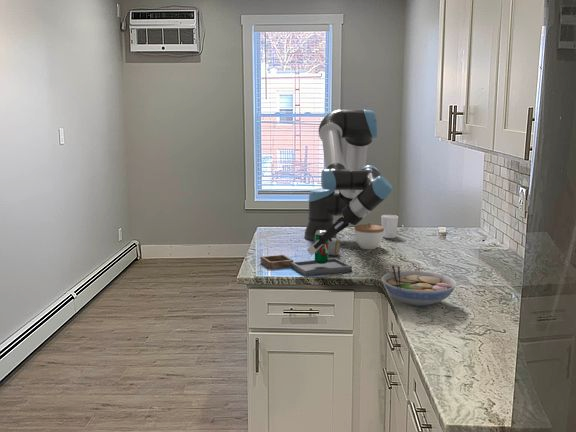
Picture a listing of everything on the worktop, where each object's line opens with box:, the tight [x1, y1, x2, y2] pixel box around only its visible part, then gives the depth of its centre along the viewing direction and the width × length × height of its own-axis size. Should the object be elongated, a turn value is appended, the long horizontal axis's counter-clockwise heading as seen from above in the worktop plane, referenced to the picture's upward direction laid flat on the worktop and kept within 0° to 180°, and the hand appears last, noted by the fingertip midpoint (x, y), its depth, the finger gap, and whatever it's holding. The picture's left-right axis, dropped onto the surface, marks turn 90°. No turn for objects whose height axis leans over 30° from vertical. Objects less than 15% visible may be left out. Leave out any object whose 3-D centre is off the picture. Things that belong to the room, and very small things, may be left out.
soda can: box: [314, 230, 329, 264], centre depth 218 cm, size 5×5×12 cm
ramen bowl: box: [381, 265, 458, 307], centre depth 182 cm, size 25×23×8 cm
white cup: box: [380, 214, 399, 239], centre depth 279 cm, size 8×8×10 cm
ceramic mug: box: [328, 238, 341, 257], centre depth 243 cm, size 11×8×8 cm
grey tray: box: [290, 257, 353, 277], centre depth 220 cm, size 19×13×2 cm
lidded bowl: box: [354, 222, 384, 250], centre depth 256 cm, size 13×13×11 cm
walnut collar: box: [260, 254, 294, 270], centre depth 225 cm, size 10×10×2 cm
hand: (312, 250), depth 220 cm, fingers closed on soda can, 5 cm apart
